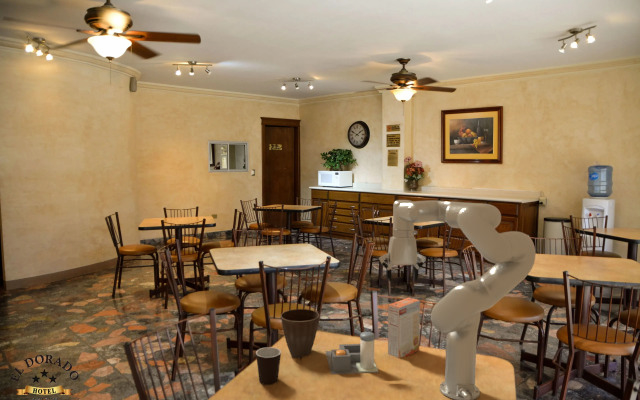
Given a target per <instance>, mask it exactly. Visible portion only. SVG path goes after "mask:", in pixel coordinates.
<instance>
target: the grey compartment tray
mask: <svg viewBox="0 0 640 400" xmlns="http://www.w3.org/2000/svg"><path fill="white" fill-rule="evenodd" d="M338 347H339V349H331V350H327V351H326V350H325V356H326V360H327V363H328V367H329V371H330V374H331V375H349V374H355V375H356V374H373V373H374V374H375V373H377V374H378V373H379V371H378V372H361V373H359V371H358V369H357V366H356V363H360V343H347V344H344V343H343V344H339V346H338ZM337 350H344V351H346V355H339V356H336V351H337Z"/></svg>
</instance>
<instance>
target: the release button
mask: <svg viewBox="0 0 640 400" xmlns="http://www.w3.org/2000/svg"><path fill="white" fill-rule="evenodd" d="M336 350H337V351H336V356H339V355H346V351H344V350H339V349H336Z"/></svg>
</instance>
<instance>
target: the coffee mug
mask: <svg viewBox="0 0 640 400" xmlns="http://www.w3.org/2000/svg"><path fill="white" fill-rule="evenodd" d="M281 356H282V350H281V349H279V348H277V347H271V346H268V347H262V348H258V349H257V350H256V351H255V357H256V364H257V365H256V366H257V371H258V380H259V383H260V384H261V385H267V386H268V385H274V384H276V383H277V382H278V380H279V372H280V366H281V358H282V357H281Z"/></svg>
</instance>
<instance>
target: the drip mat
mask: <svg viewBox="0 0 640 400" xmlns="http://www.w3.org/2000/svg"><path fill="white" fill-rule="evenodd" d="M356 366H357V369H358V371H359V373H358V374H362V373H361V372H379V369H378V367H377V365H376V363H375V361H374V368H373V369H370V370H365V369H362V368H361V367H360V363H356Z"/></svg>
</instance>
